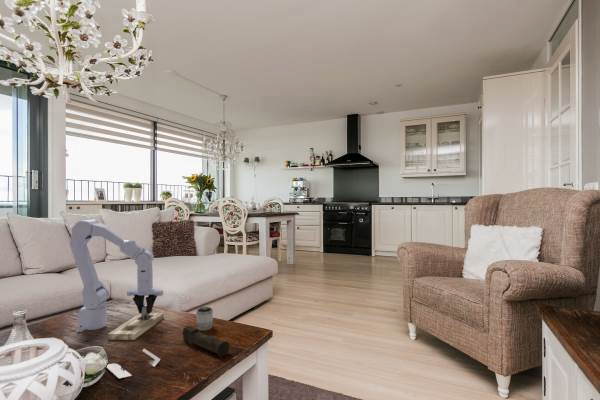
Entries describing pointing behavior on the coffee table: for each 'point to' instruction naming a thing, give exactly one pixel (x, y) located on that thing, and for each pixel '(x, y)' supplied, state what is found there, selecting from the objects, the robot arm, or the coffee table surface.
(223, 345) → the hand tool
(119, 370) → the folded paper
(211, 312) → the camera lens
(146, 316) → the grey cylinder
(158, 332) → the coffee table surface
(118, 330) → the tool board
